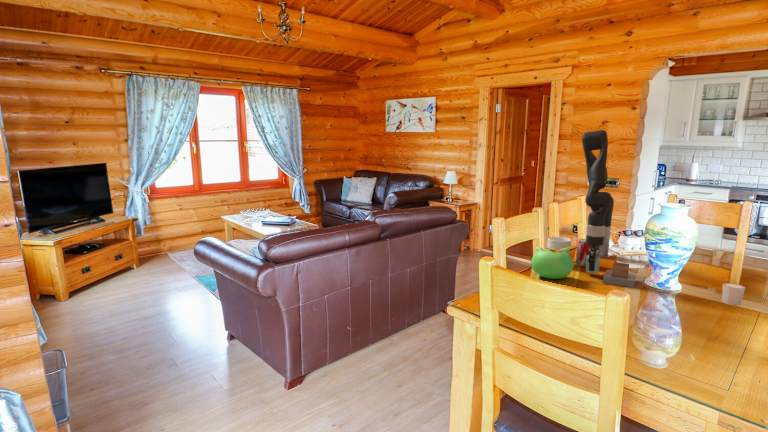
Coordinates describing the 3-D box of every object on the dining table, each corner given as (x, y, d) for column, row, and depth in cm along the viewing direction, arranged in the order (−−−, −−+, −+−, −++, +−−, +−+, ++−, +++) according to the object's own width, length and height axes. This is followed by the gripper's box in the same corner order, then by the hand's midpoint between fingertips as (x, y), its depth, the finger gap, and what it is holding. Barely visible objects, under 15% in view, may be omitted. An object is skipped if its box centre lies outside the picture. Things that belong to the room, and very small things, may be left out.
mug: (538, 259, 225) (540, 235, 223) (557, 258, 227) (558, 234, 225) (553, 267, 211) (555, 241, 208) (573, 266, 212) (575, 241, 210)
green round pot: (528, 279, 191) (530, 248, 189) (533, 269, 206) (535, 241, 203) (571, 285, 183) (573, 253, 181) (573, 275, 198) (575, 245, 195)
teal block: (587, 269, 201) (588, 255, 200) (598, 270, 198) (600, 256, 197) (585, 271, 197) (586, 257, 196) (597, 273, 194) (598, 259, 193)
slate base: (606, 275, 197) (606, 269, 196) (635, 280, 190) (636, 274, 190) (602, 282, 187) (603, 276, 187) (633, 287, 180) (634, 281, 180)
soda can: (587, 263, 217) (589, 238, 215) (593, 267, 210) (595, 242, 208) (573, 262, 218) (575, 238, 216) (578, 266, 211) (580, 241, 209)
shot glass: (738, 300, 166) (740, 283, 165) (746, 306, 160) (749, 289, 158) (717, 298, 168) (719, 281, 167) (724, 304, 162) (727, 287, 161)
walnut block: (613, 272, 192) (614, 261, 191) (628, 274, 189) (629, 264, 188) (611, 275, 187) (612, 265, 186) (627, 278, 184) (628, 267, 183)
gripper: (588, 230, 202) (586, 264, 205) (584, 236, 190) (581, 272, 194) (606, 232, 198) (603, 266, 201) (602, 238, 186) (599, 274, 189)
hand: (592, 269), depth 197 cm, fingers closed on teal block, 5 cm apart
